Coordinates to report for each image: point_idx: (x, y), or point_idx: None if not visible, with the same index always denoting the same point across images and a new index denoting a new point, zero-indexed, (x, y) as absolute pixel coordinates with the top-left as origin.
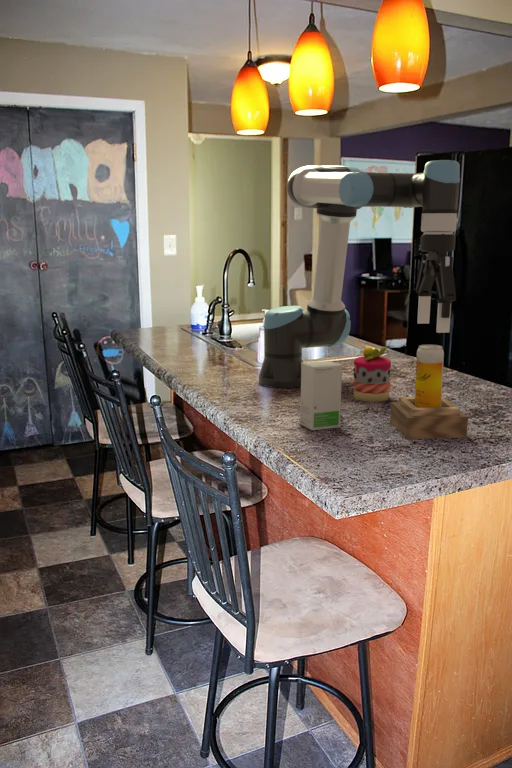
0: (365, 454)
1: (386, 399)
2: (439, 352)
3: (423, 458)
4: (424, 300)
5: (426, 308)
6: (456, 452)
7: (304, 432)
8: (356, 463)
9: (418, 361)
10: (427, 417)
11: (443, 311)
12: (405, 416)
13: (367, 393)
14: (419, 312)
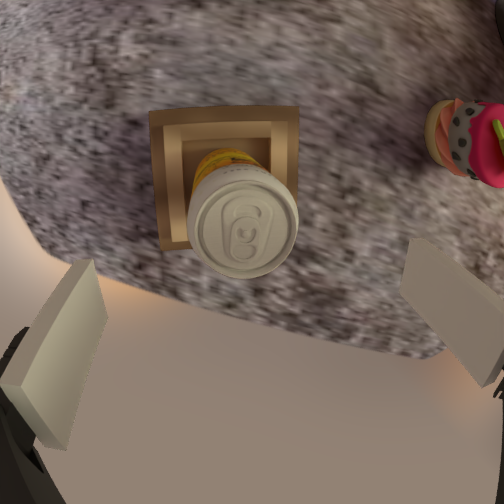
0: (77, 28)
1: (430, 155)
2: (195, 251)
3: (51, 126)
4: (483, 338)
5: (447, 321)
6: (81, 191)
7: None
8: (41, 17)
9: (226, 165)
10: (152, 158)
11: (3, 355)
12: (168, 109)
13: (438, 115)
14: (445, 270)
